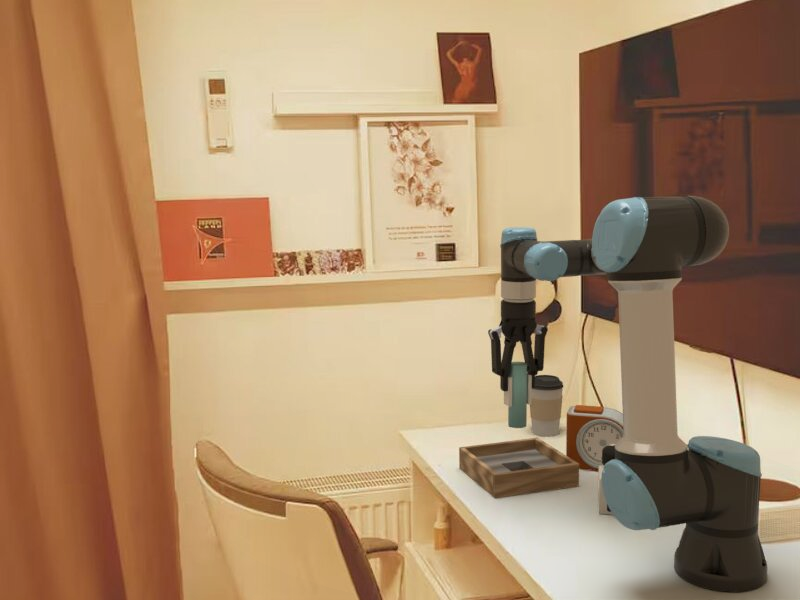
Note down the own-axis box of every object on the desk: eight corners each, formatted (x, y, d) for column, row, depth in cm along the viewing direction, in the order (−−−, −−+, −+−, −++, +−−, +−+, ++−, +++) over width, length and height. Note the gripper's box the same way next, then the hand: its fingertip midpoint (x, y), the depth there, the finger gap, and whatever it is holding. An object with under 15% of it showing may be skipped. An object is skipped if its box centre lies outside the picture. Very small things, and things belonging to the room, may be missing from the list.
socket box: (579, 485, 198) (579, 463, 197) (495, 498, 192) (494, 475, 191) (537, 457, 217) (537, 437, 216) (459, 468, 211) (459, 447, 210)
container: (638, 516, 181) (639, 454, 179) (598, 514, 182) (599, 452, 180) (636, 502, 188) (637, 441, 186) (597, 500, 190) (598, 440, 188)
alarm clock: (564, 468, 209) (565, 411, 207) (570, 456, 217) (570, 401, 215) (630, 474, 204) (632, 416, 202) (633, 462, 212) (635, 406, 210)
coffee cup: (543, 425, 242) (544, 370, 240) (570, 432, 235) (570, 376, 233) (520, 432, 237) (520, 376, 234) (547, 440, 230) (547, 382, 227)
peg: (529, 426, 199) (530, 365, 197) (513, 428, 198) (513, 366, 196) (521, 421, 203) (522, 360, 201) (505, 423, 202) (505, 362, 200)
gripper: (545, 293, 202) (544, 395, 206) (475, 299, 197) (475, 403, 201) (561, 299, 195) (560, 404, 199) (489, 304, 190) (489, 412, 194)
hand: (517, 403), depth 200 cm, fingers closed on peg, 4 cm apart
